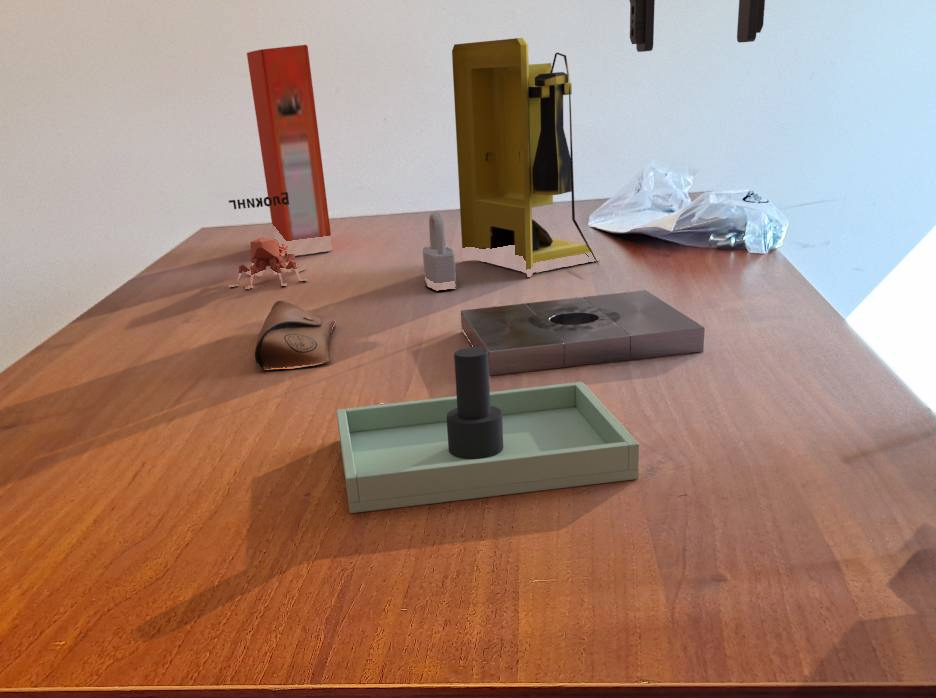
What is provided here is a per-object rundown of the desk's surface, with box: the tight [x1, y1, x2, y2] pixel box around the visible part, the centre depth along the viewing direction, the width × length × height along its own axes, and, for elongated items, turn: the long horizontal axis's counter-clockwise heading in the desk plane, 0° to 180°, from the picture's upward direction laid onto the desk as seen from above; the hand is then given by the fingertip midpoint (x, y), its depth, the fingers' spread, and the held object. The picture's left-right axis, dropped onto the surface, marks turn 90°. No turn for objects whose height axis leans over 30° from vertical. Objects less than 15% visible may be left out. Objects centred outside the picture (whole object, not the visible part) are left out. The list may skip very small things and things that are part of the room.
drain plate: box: [460, 289, 706, 377], centre depth 106 cm, size 22×18×2 cm
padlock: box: [422, 211, 457, 283], centre depth 134 cm, size 7×4×10 cm, turn 11°
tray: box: [336, 381, 640, 514], centre depth 78 cm, size 22×16×3 cm
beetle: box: [228, 192, 297, 275], centre depth 148 cm, size 15×12×13 cm
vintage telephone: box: [451, 37, 600, 270], centre depth 138 cm, size 31×14×30 cm, turn 26°
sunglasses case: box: [253, 300, 336, 370], centre depth 113 cm, size 18×7×7 cm
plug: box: [446, 346, 503, 459], centre depth 76 cm, size 4×4×8 cm
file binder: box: [246, 44, 332, 241], centre depth 167 cm, size 8×17×32 cm, turn 14°
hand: (695, 46), depth 80 cm, fingers open, 8 cm apart
